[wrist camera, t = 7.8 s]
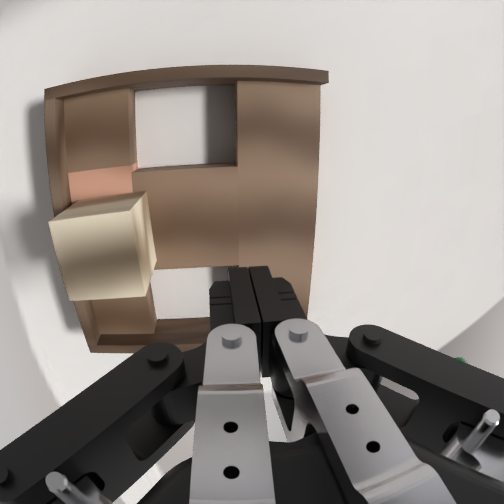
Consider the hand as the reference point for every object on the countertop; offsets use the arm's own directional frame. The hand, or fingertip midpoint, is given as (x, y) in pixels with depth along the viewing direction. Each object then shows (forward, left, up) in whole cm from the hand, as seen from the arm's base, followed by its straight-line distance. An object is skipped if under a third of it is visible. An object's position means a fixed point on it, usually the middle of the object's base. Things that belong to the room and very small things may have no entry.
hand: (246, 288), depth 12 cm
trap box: (0, -3, -12) cm, 12 cm away
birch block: (+1, -8, -10) cm, 13 cm away
